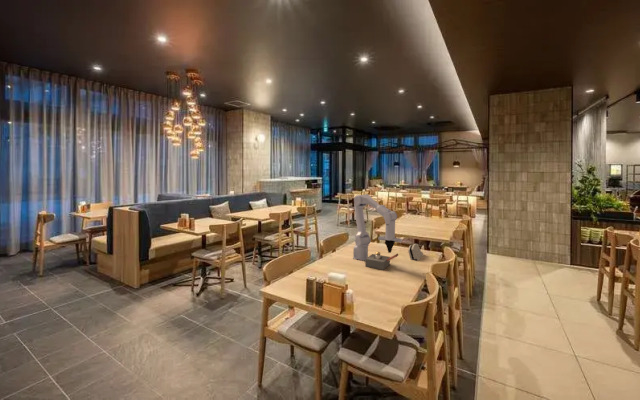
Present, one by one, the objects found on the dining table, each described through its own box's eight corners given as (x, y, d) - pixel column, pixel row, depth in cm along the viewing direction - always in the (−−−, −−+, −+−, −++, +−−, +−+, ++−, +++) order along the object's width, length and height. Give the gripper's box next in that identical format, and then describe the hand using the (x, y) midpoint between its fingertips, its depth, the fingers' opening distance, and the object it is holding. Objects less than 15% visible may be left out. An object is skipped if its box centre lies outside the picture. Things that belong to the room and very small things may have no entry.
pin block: (365, 266, 195) (365, 258, 194) (372, 261, 205) (372, 254, 204) (383, 269, 189) (383, 262, 188) (389, 264, 199) (390, 256, 198)
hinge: (418, 261, 206) (413, 246, 206) (411, 262, 208) (406, 248, 209) (423, 254, 220) (419, 241, 220) (417, 255, 222) (412, 242, 223)
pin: (374, 264, 196) (374, 252, 195) (376, 263, 199) (376, 251, 198) (378, 265, 195) (379, 253, 194) (380, 264, 197) (381, 252, 196)
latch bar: (387, 261, 191) (386, 259, 191) (389, 259, 194) (388, 258, 195) (396, 256, 188) (395, 255, 188) (398, 255, 191) (397, 253, 191)
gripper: (376, 230, 190) (376, 252, 192) (399, 233, 183) (399, 255, 185) (380, 228, 196) (380, 249, 198) (403, 231, 189) (402, 252, 191)
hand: (389, 252), depth 192 cm, fingers closed
